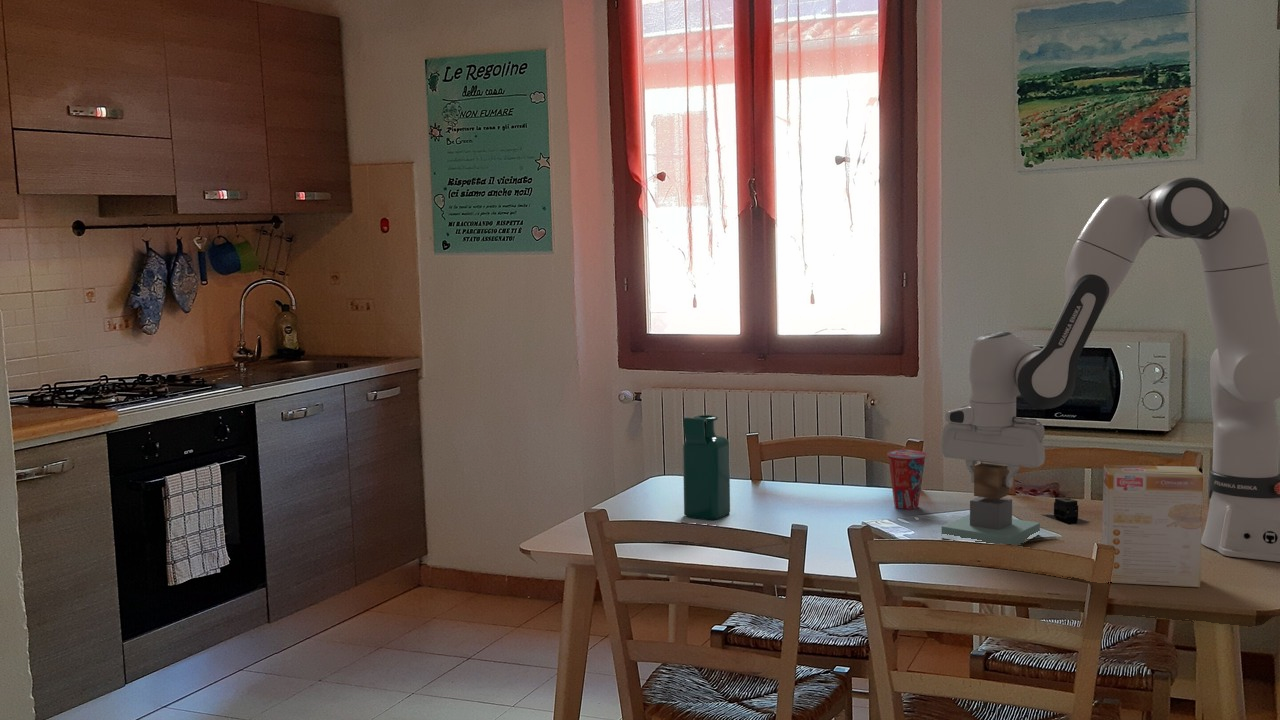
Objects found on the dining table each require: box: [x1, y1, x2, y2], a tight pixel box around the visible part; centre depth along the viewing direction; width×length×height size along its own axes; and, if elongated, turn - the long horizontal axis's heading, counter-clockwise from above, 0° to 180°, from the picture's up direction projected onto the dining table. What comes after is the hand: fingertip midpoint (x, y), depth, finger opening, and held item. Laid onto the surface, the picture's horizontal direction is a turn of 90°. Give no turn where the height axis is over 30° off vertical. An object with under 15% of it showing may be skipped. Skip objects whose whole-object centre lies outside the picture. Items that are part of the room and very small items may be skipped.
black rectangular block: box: [1040, 496, 1090, 526], centre depth 243 cm, size 12×7×5 cm, turn 17°
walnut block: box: [973, 462, 1010, 499], centre depth 228 cm, size 5×5×6 cm
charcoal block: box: [969, 496, 1013, 530], centre depth 229 cm, size 6×6×5 cm
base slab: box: [941, 514, 1041, 546], centre depth 229 cm, size 14×14×2 cm
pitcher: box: [682, 414, 731, 521], centre depth 251 cm, size 10×8×22 cm
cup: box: [886, 449, 927, 510], centre depth 256 cm, size 9×8×12 cm
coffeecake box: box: [1101, 464, 1204, 588], centre depth 199 cm, size 15×7×20 cm, turn 75°
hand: (991, 484), depth 228 cm, fingers closed on walnut block, 5 cm apart
